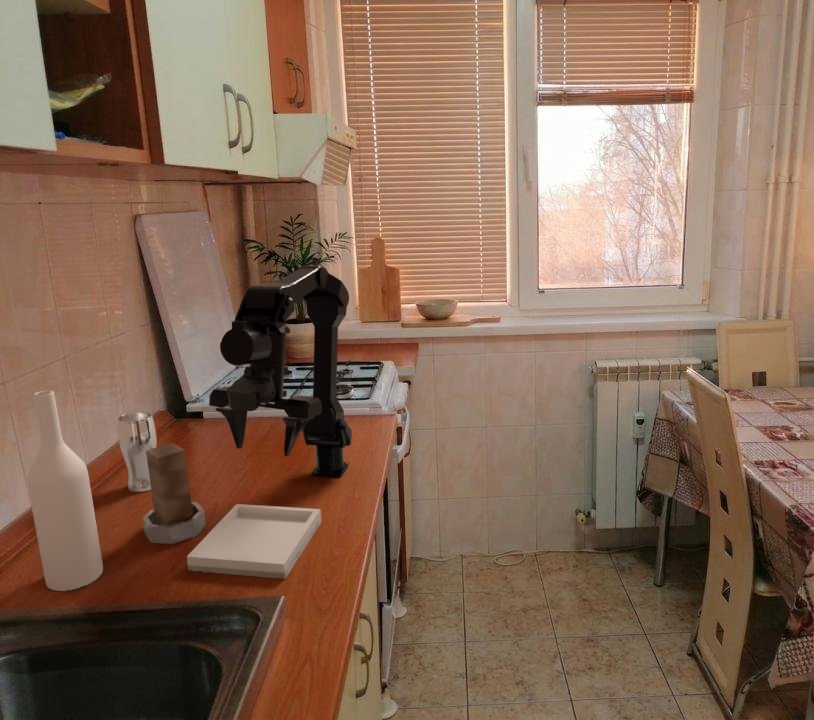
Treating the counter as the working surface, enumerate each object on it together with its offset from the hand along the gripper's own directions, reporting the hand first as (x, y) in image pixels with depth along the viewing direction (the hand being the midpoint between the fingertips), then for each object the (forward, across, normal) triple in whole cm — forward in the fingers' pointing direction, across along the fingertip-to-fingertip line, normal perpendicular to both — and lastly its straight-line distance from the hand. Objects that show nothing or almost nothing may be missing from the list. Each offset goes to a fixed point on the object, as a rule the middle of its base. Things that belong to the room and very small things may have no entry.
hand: (262, 452), depth 111 cm
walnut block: (+16, -16, -2) cm, 22 cm away
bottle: (+19, -21, -19) cm, 34 cm away
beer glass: (+14, -34, +11) cm, 38 cm away
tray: (+15, +2, -2) cm, 15 cm away
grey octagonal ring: (+16, -16, -2) cm, 22 cm away
